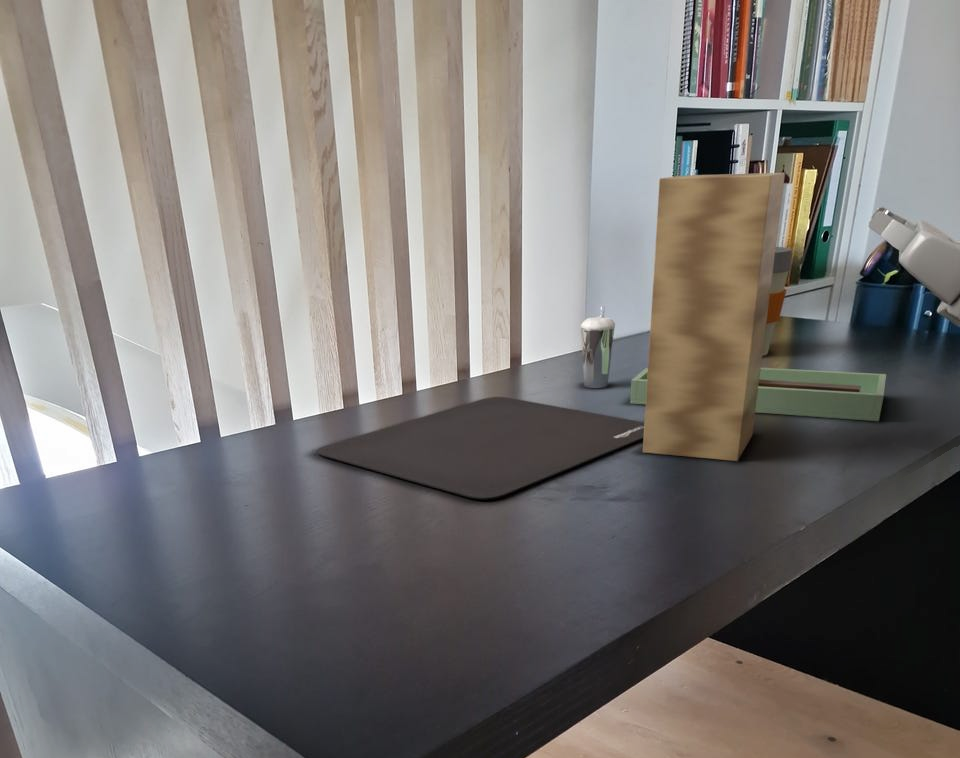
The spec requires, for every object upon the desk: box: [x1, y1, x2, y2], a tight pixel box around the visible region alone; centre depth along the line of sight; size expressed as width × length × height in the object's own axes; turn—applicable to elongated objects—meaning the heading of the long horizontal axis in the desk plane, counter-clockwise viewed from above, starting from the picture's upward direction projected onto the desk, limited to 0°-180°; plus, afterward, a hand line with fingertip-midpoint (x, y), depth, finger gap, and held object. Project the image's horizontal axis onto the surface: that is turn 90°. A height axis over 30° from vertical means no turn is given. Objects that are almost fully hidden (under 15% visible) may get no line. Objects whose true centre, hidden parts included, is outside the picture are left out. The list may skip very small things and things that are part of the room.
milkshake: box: [580, 306, 616, 389], centre depth 118 cm, size 4×5×10 cm
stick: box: [758, 379, 861, 392], centre depth 109 cm, size 24×2×2 cm, turn 65°
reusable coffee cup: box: [762, 246, 793, 357], centre depth 133 cm, size 13×13×15 cm
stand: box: [642, 172, 786, 462], centre depth 88 cm, size 10×10×26 cm
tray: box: [629, 366, 887, 422], centre depth 109 cm, size 30×12×3 cm, turn 66°
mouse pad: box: [316, 396, 645, 500], centre depth 97 cm, size 32×27×1 cm
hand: (873, 215), depth 95 cm, fingers open, 8 cm apart
